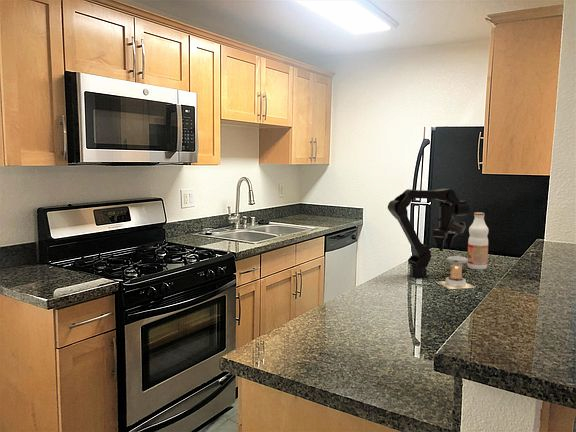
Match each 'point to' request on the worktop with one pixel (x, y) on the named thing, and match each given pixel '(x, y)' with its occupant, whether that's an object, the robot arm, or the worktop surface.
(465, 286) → the board
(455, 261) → the showerhead
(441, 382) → the worktop surface
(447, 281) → the collar
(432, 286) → the worktop surface
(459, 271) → the copper brown cylinder
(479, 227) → the fruit juice
